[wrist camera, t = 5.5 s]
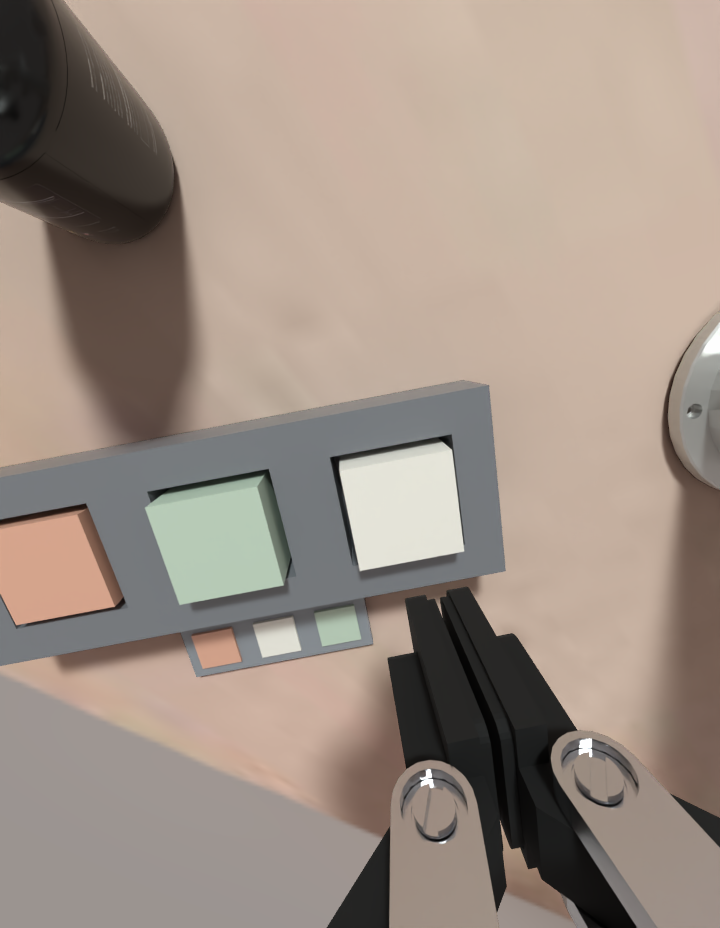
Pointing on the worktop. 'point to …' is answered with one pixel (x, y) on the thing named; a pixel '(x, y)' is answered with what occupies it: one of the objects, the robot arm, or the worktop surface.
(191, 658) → the card
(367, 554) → the cream key
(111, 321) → the worktop surface
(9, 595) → the terracotta key
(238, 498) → the sage key
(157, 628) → the keypad
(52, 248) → the worktop surface
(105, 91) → the supplement bottle
